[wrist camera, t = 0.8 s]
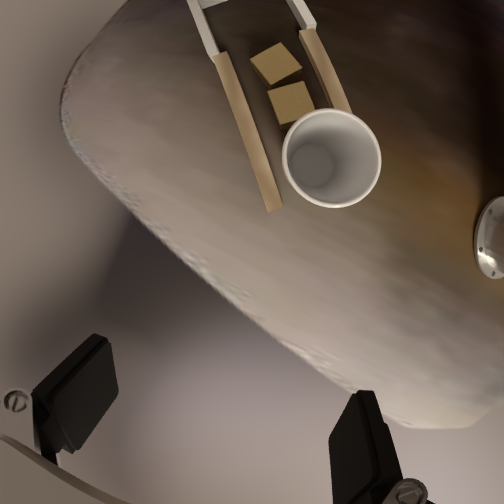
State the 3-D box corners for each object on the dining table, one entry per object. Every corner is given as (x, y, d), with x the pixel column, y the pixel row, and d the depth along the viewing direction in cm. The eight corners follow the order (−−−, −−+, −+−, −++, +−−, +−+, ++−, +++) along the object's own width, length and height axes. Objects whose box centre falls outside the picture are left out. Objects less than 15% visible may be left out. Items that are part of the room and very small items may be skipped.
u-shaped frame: (282, -20, 24) (282, -32, 21) (314, 34, 26) (316, 23, 23) (191, 7, 26) (185, -3, 23) (213, 63, 29) (207, 54, 26)
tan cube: (281, 56, 28) (280, 42, 24) (300, 79, 28) (302, 67, 24) (253, 71, 29) (249, 59, 25) (272, 95, 29) (271, 85, 25)
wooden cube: (301, 91, 29) (303, 80, 25) (313, 121, 30) (316, 114, 26) (269, 100, 29) (267, 91, 26) (280, 130, 30) (280, 124, 26)
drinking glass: (301, 205, 32) (315, 228, 18) (270, 156, 31) (259, 138, 17) (349, 177, 31) (400, 178, 16) (319, 127, 30) (347, 90, 15)
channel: (312, 34, 26) (313, 27, 24) (369, 180, 30) (374, 181, 29) (216, 62, 28) (212, 56, 27) (268, 210, 33) (267, 212, 31)
